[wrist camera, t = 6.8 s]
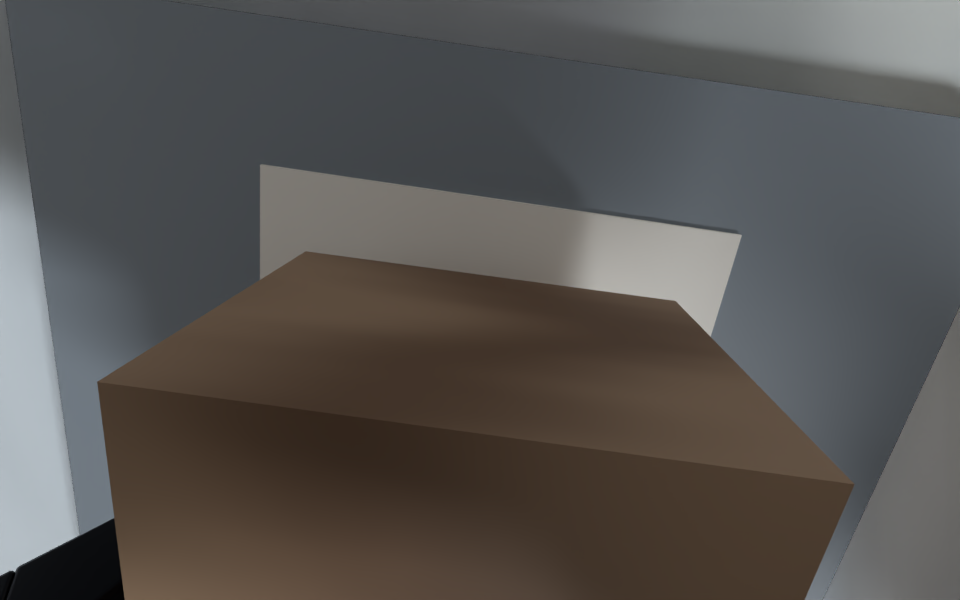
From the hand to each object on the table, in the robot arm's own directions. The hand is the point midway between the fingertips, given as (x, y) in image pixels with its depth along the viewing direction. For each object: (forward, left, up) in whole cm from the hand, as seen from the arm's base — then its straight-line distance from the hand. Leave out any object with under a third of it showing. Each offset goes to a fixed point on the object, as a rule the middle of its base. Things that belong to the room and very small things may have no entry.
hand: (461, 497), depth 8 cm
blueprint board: (0, 0, -4) cm, 4 cm away
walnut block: (0, 0, -1) cm, 1 cm away
